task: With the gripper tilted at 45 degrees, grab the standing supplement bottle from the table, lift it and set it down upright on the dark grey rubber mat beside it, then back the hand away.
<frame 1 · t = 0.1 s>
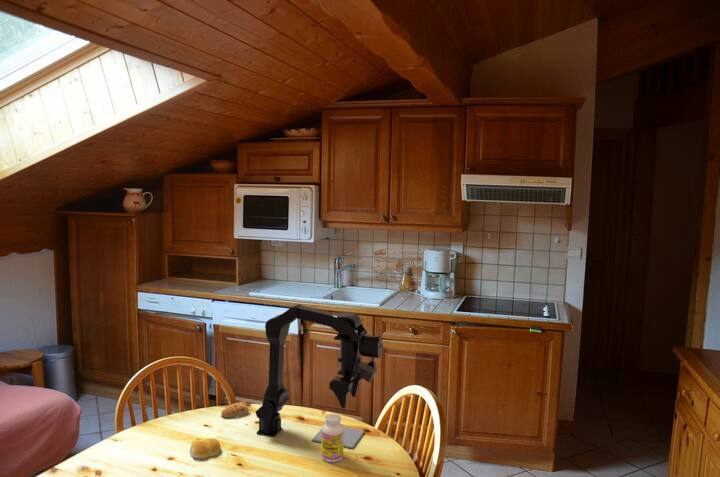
hand: (348, 402, 163), 15 cm above the table, tool pointing down, fingers open, 9 cm apart
pastry: (236, 414, 187), on the table
supplement bottle: (332, 458, 158), on the table
bread roll: (204, 453, 160), on the table
rubber mat: (338, 436, 171), on the table
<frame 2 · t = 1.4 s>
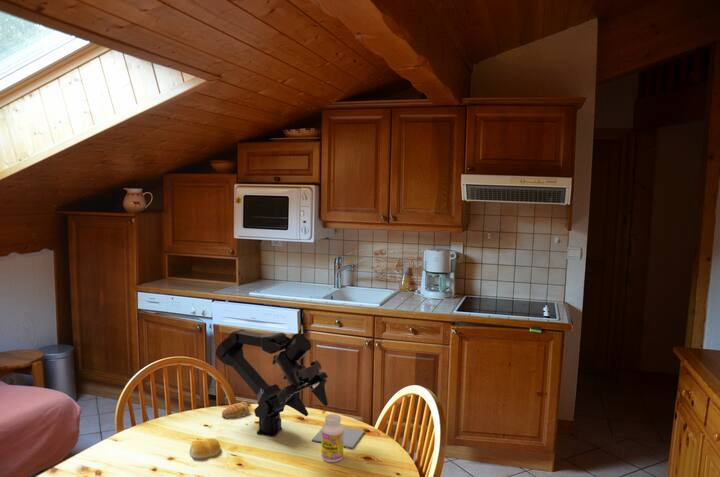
hand: (317, 410, 160), 13 cm above the table, tool tilted 45°, fingers open, 9 cm apart
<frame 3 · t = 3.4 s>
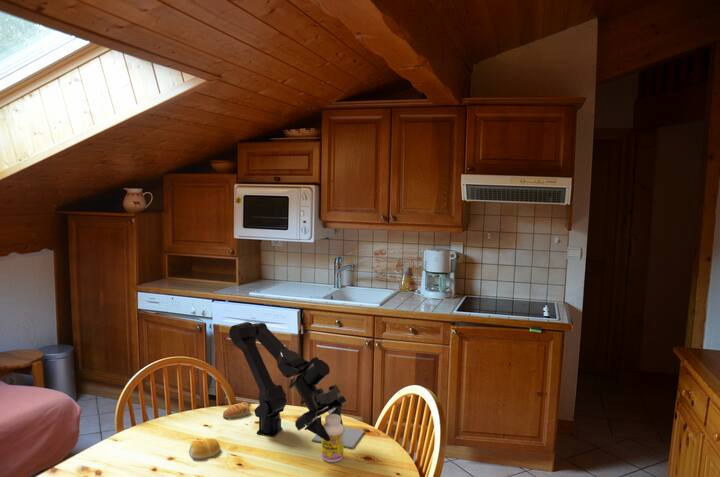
hand: (336, 436, 157), 7 cm above the table, tool tilted 45°, fingers closed on supplement bottle, 7 cm apart
supplement bottle: (332, 458, 158), on the table, touching gripper
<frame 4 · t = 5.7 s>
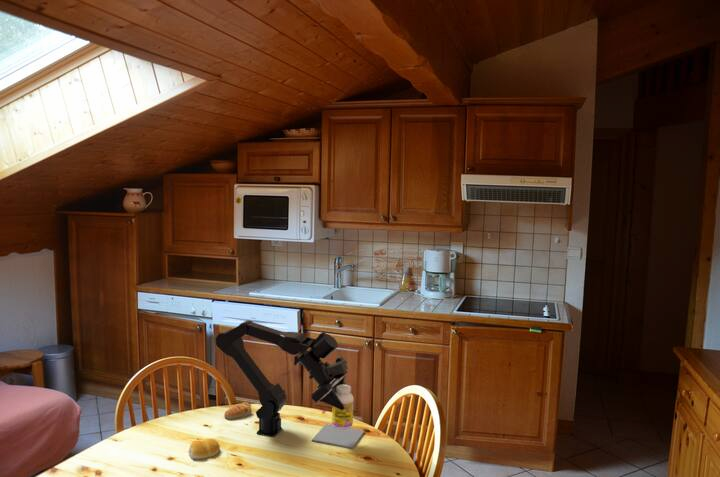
hand: (347, 404, 165), 13 cm above the table, tool tilted 45°, fingers closed on supplement bottle, 7 cm apart
supplement bottle: (342, 426, 166), point 6 cm above the table, touching gripper
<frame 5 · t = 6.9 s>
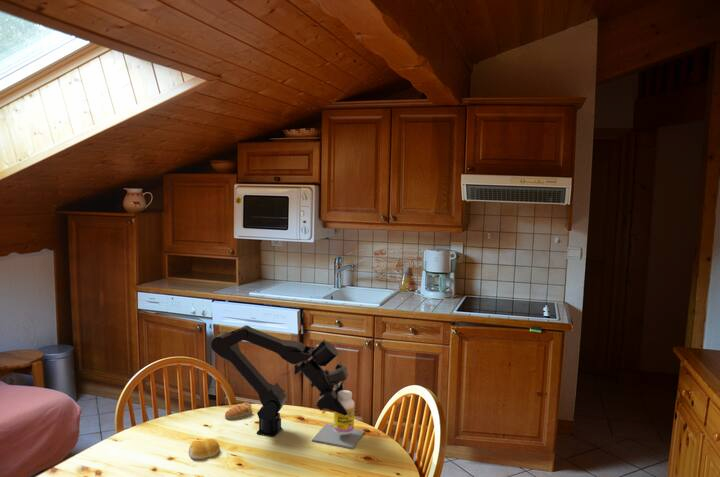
hand: (348, 409, 169), 10 cm above the table, tool tilted 45°, fingers closed on supplement bottle, 7 cm apart
supplement bottle: (343, 431, 170), point 2 cm above the table, touching gripper
when the fingers open (9 cm above the table, at t = 7.7 s): supplement bottle stays where it is, resting on rubber mat.
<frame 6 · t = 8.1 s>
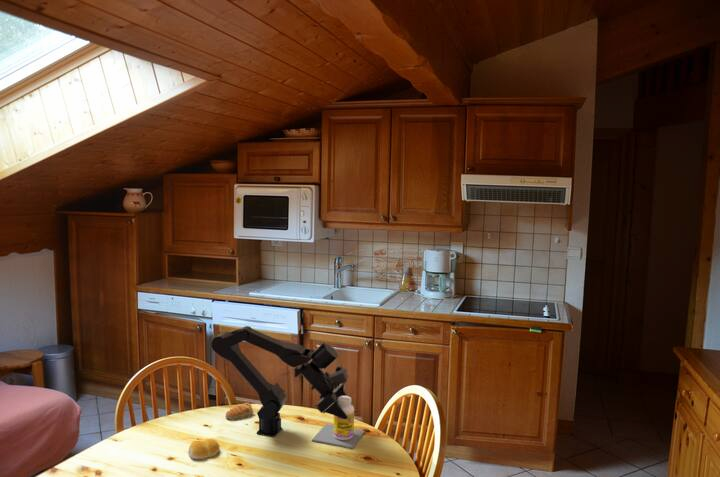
hand: (348, 412, 170), 9 cm above the table, tool tilted 45°, fingers open, 9 cm apart
supplement bottle: (343, 436, 170), resting on rubber mat
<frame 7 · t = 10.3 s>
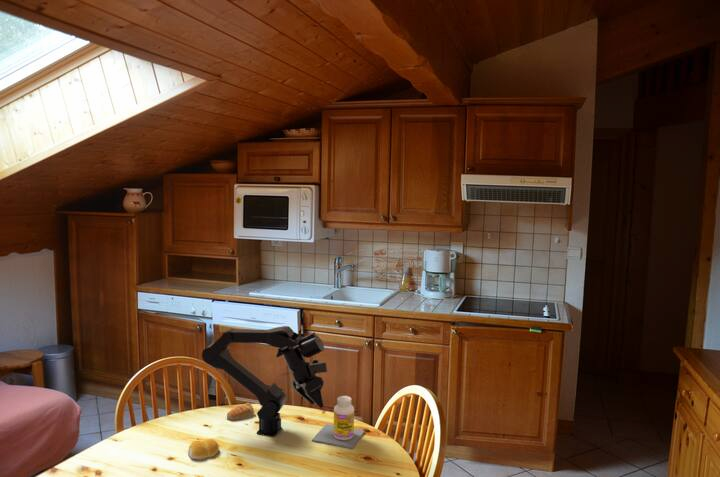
hand: (317, 405, 170), 10 cm above the table, tool tilted 30°, fingers open, 9 cm apart
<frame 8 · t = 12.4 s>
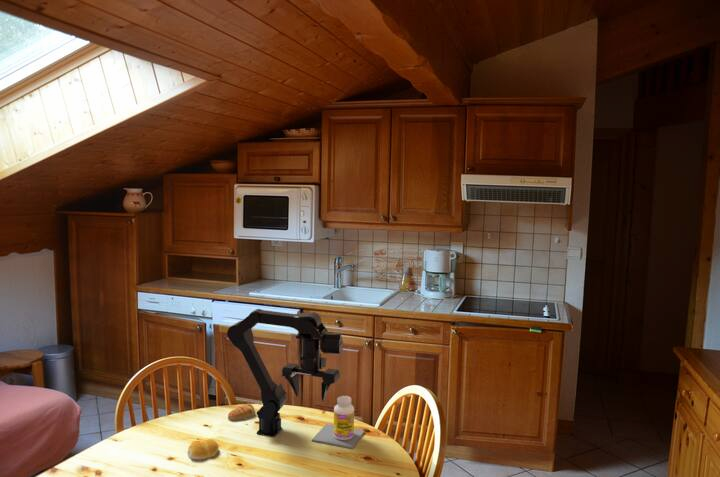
hand: (310, 398, 170), 13 cm above the table, tool pointing down, fingers open, 9 cm apart
at the end: supplement bottle inside the target area (0.9 cm from its centre), resting on rubber mat; supplement bottle tilted 0°; the gripper is holding nothing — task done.
